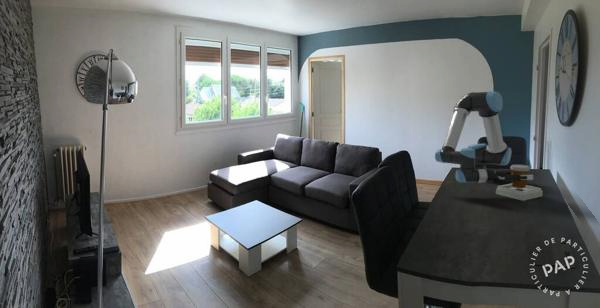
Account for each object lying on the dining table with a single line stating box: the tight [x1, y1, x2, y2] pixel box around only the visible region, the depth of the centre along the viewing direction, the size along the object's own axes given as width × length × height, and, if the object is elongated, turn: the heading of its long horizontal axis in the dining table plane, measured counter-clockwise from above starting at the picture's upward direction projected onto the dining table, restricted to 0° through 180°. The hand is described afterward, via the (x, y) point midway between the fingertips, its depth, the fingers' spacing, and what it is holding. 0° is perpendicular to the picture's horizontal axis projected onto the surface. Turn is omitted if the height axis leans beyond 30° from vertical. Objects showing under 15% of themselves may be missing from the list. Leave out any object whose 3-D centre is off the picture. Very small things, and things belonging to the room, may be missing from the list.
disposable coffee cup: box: [509, 164, 531, 188], centre depth 195 cm, size 10×10×12 cm
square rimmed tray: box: [495, 183, 544, 202], centre depth 196 cm, size 16×16×4 cm
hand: (528, 175), depth 194 cm, fingers closed on disposable coffee cup, 8 cm apart
